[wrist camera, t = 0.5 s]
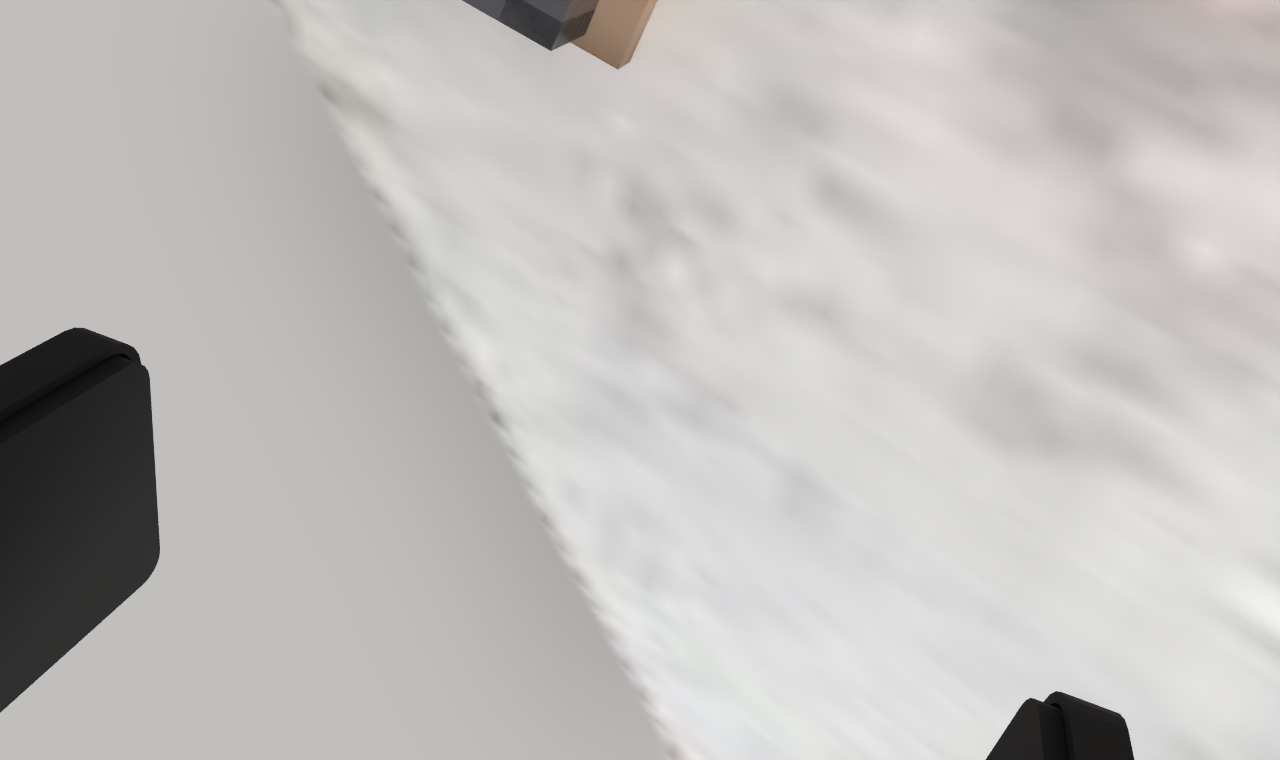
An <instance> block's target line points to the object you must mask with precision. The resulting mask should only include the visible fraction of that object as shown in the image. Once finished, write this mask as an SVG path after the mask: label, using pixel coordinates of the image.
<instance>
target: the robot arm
mask: <svg viewBox="0 0 1280 760" xmlns="http://www.w3.org/2000/svg"><path fill="white" fill-rule="evenodd" d="M152 427H153V426H152V410H151V393H150V378H149V373H148V370H147V369H146V367H145V366H143V365H141V361H140V357H139V354H138V353H137V351H136V350H135V348H134V347H131V346H130V345H128V344H125V343H122V342H120V341H117V340H115V339H112V338H109V337H106V336H104V335H101V334H98V333H96V332H93V331H90V330H88V329H85V328H73V329H70V330H67V331H64V332H62V333H60V334H58V335H57V336H55V337H53V338H51V339H49V340H47V341H45V342H43V343H42V344H40V345H38V346H36V347H34V348H32V349H31V350H28V351H26V352H25V353H23V354H21V355H19V356H17V357H15V358H14V359H11V360H10V361H8V362H6V363H4V364H2V365H0V712H1V711H2V710H4V709H5V708H6V707H7V706H8V705H9V704H10V703H11V702H13V701H14V700H15V699H16V698H17V697H18V696H19V695H20V694H21V693H23V692H24V691H25V690H26V689H27V688H28V687H29V686H30V685H31V684H33V683H34V682H35V681H36V680H37V679H38V678H39V677H40V676H41V675H43V674H44V673H45V672H46V671H47V670H48V669H49V668H50V667H51V666H53V665H54V664H55V663H56V662H57V661H58V660H59V659H60V658H61V657H63V656H64V655H65V654H66V653H67V652H68V651H69V650H70V649H72V648H73V647H74V646H75V645H76V644H77V643H78V642H79V641H80V640H82V638H84V637H85V636H86V635H87V634H88V633H89V632H90V631H92V630H93V629H94V628H95V627H96V626H97V625H98V624H99V623H101V622H102V621H103V620H104V619H105V618H106V617H107V616H108V615H109V614H111V613H112V612H113V611H114V610H115V609H116V608H117V607H118V606H119V605H121V604H122V603H123V602H124V601H125V600H126V599H127V598H128V597H129V596H131V595H132V594H133V593H134V592H135V591H136V590H137V589H138V588H139V587H141V586H142V585H143V584H144V583H145V582H146V580H147V579H148V578H149V577H150V575H151V574H152V572H153V571H154V569H155V567H156V565H157V562H158V558H159V554H160V543H159V526H158V509H157V493H156V476H155V460H154V443H153V428H152ZM986 760H1134V756H1133V751H1132V746H1131V741H1130V737H1129V732H1128V728H1127V725H1126V722H1125V719H1124V718H1123V717H1122V716H1121V715H1120V714H1119V713H1116V712H1113V711H1111V710H1108V709H1105V708H1103V707H1100V706H1097V705H1095V704H1092V703H1089V702H1087V701H1084V700H1081V699H1079V698H1076V697H1073V696H1070V695H1068V694H1065V693H1062V692H1057V691H1056V692H1054V693H1052V694H1050V695H1049V696H1048V698H1047V699H1046V700H1045V701H1044V702H1041V701H1039V700H1036V699H1033V698H1029V699H1028V700H1026V701H1025V702H1024V703H1023V705H1022V706H1021V707H1020V709H1019V710H1018V712H1017V713H1016V715H1015V716H1014V718H1013V719H1012V721H1011V722H1010V724H1009V725H1008V727H1007V728H1006V730H1005V731H1004V733H1003V734H1002V736H1001V737H1000V739H999V740H998V742H997V743H996V745H995V746H994V748H993V749H992V751H991V753H990V754H989V756H988V757H987V759H986Z"/></svg>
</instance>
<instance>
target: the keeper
mask: <svg viewBox="0 0 1280 760" xmlns="http://www.w3.org/2000/svg"><path fill="white" fill-rule="evenodd" d="M463 1H464V2H466V3H468V4H470V5H471V6H473V7H475V8H477V9H478V10H480V11H482V12H484V13H485V14H487V15H489V16H491V17H492V18H494V19H496V20H498V21H499V22H501V23H503V24H505V25H506V26H508V27H510V28H512V29H513V30H515V31H517V32H519V33H520V34H522V35H524V36H526V37H527V38H529V39H531V40H533V41H535V42H536V43H538V44H540V45H542V46H543V47H545V48H547V49H549V50H550V51H552V50H554V49H556V48H558V47H560V46H562V45H564V44H567V43H569V42H571V41H573V40H575V39H577V38H579V37H581V36H584V35H585V34H586V31H587V29H588V26H589V24H590V22H591V19H592V17H593V14H594V12H595V10H596V7H597V5H598V2H599V0H463Z"/></svg>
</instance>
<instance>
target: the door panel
mask: <svg viewBox="0 0 1280 760" xmlns="http://www.w3.org/2000/svg"><path fill="white" fill-rule="evenodd" d="M656 2H657V0H599V2H598V5H597V7H596V10H595V12H594V14H593V17H592V19H591V22H590V24H589V26H588V29H587V31H586V34H585V35H584V36H581V37H579V38H577V39H575V40H573V41H571V43H572V44H574V45H576V46H578V47H580V48H581V49H583V50H585V51H587V52H588V53H590V54H592V55H594V56H595V57H597V58H599V59H601V60H602V61H604V62H606V63H608V64H609V65H611V66H613V67H615V68H616V69H619V68H621V67H622V66H624V65H626V64H627V63H629V62H630V60H631V58H632V55H633V53H634V51H635V49H636V46H637V44H638V42H639V40H640V38H641V35H642V33H643V31H644V29H645V26H646V24H647V22H648V20H649V17H650V15H651V13H652V11H653V9H654V6H655V4H656Z"/></svg>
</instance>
